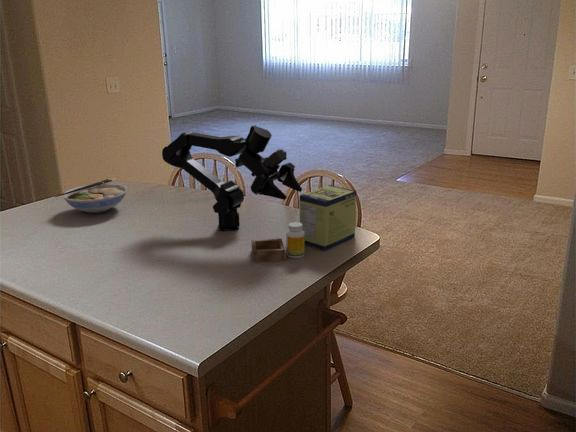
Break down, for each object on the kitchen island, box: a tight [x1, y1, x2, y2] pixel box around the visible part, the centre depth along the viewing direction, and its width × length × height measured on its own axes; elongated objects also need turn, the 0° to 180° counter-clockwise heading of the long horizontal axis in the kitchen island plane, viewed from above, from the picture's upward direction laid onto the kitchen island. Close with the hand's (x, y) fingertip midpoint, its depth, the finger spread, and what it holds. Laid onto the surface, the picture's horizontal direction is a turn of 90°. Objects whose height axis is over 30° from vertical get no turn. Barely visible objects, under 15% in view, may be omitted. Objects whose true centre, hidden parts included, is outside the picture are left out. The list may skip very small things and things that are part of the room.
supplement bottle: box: [285, 221, 306, 259], centre depth 153 cm, size 5×5×10 cm
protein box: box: [299, 184, 357, 251], centre depth 163 cm, size 10×16×16 cm
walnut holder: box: [250, 238, 286, 264], centre depth 154 cm, size 9×9×3 cm
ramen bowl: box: [54, 178, 128, 214], centre depth 196 cm, size 25×23×8 cm
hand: (293, 194), depth 160 cm, fingers open, 9 cm apart
